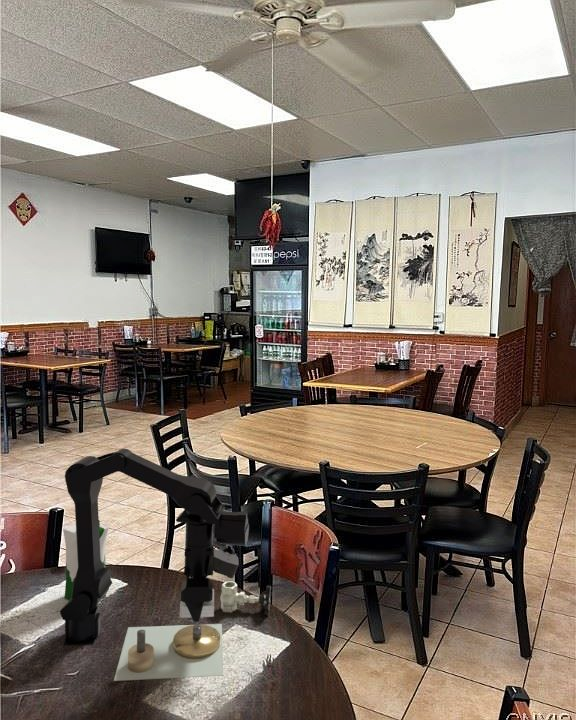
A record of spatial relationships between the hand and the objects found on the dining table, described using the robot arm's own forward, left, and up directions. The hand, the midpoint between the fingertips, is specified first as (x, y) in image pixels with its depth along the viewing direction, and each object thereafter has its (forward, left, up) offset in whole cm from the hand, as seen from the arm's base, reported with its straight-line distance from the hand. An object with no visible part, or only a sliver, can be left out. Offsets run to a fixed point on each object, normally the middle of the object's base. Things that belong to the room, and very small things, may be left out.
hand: (196, 611), depth 119 cm
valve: (+11, +13, -8) cm, 19 cm away
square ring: (0, 0, +1) cm, 1 cm away
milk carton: (-28, +22, -8) cm, 36 cm away
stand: (-11, -6, -7) cm, 14 cm away
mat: (-5, -2, -8) cm, 9 cm away
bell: (0, 0, -7) cm, 7 cm away
